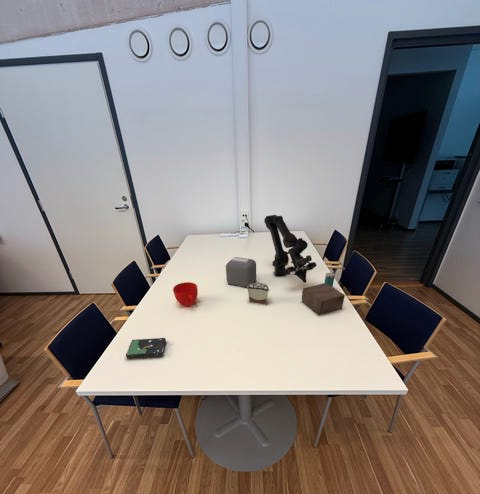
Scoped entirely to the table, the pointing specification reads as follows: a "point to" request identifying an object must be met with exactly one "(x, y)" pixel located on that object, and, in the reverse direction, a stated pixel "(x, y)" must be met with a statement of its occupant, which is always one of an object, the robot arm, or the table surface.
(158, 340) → the disk drive
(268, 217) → the robot arm
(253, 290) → the food container
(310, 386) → the table surface
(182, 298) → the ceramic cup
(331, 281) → the tea tin
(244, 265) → the alarm clock
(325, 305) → the cabinet
